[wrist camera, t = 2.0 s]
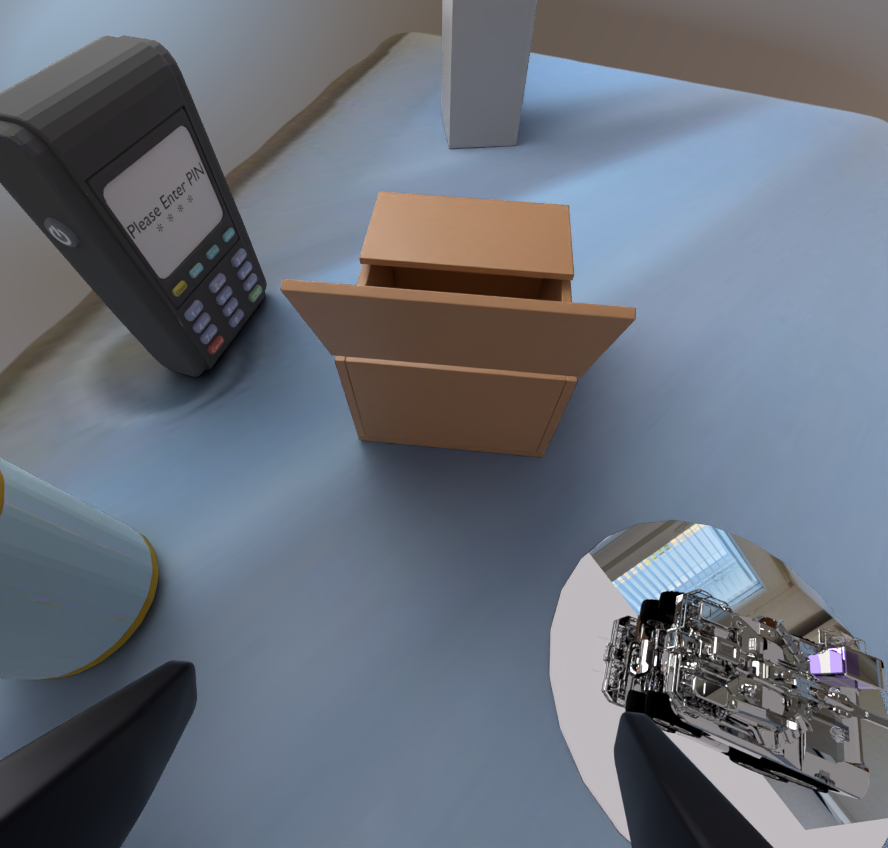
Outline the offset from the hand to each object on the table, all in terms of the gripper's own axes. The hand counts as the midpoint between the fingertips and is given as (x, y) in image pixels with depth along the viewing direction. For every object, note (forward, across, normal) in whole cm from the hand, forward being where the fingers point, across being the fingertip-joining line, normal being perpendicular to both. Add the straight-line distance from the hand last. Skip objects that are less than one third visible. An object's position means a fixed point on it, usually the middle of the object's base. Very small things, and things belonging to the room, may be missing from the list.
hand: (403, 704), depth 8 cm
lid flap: (+10, 0, -6) cm, 12 cm away
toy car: (+11, -13, +8) cm, 19 cm away
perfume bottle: (+45, 0, -26) cm, 52 cm away
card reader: (+24, +17, -5) cm, 30 cm away
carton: (+23, 0, -4) cm, 23 cm away
